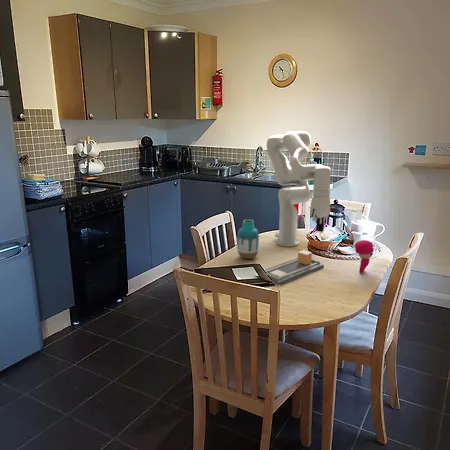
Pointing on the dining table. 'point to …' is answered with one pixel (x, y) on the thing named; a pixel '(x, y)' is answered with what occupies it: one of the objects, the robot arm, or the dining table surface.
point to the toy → (364, 253)
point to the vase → (248, 240)
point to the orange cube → (304, 257)
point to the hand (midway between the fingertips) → (319, 231)
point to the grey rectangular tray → (291, 270)
